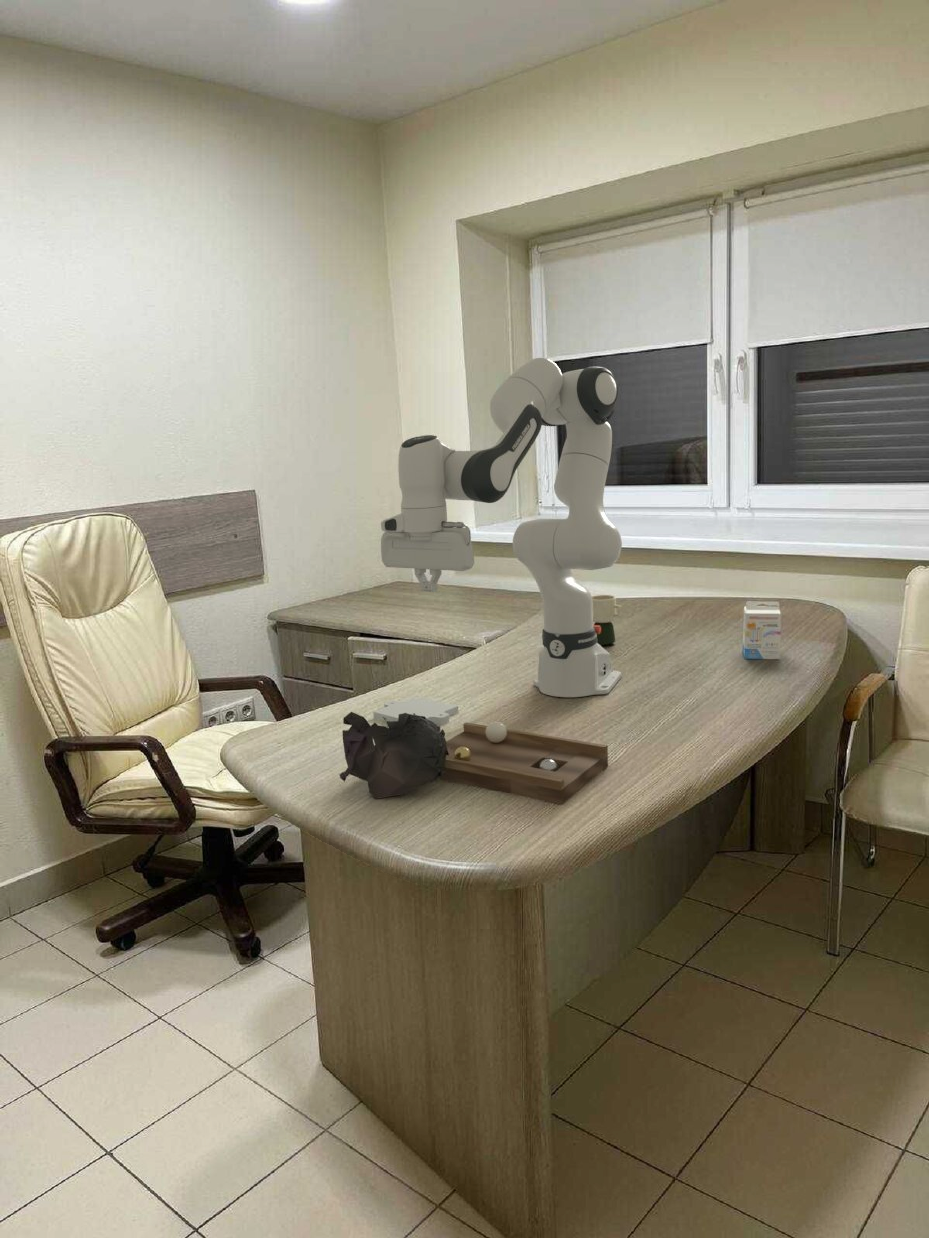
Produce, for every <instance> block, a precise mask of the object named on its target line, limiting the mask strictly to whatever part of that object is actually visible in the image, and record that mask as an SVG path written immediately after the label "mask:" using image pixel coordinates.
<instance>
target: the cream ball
mask: <svg viewBox="0 0 929 1238" xmlns="http://www.w3.org/2000/svg"><path fill="white" fill-rule="evenodd" d="M486 726H487V728H486V731H485V733H486V737H487V738H488V740H489V741H491V742H493V743H499V742H502V741H503V740H504V739H505V737H506V735H507V730H506V729H507V726H506V725H505V724H504V723H502V722H500V721H492V722H490V723H489V724H488V725H486Z"/></svg>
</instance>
